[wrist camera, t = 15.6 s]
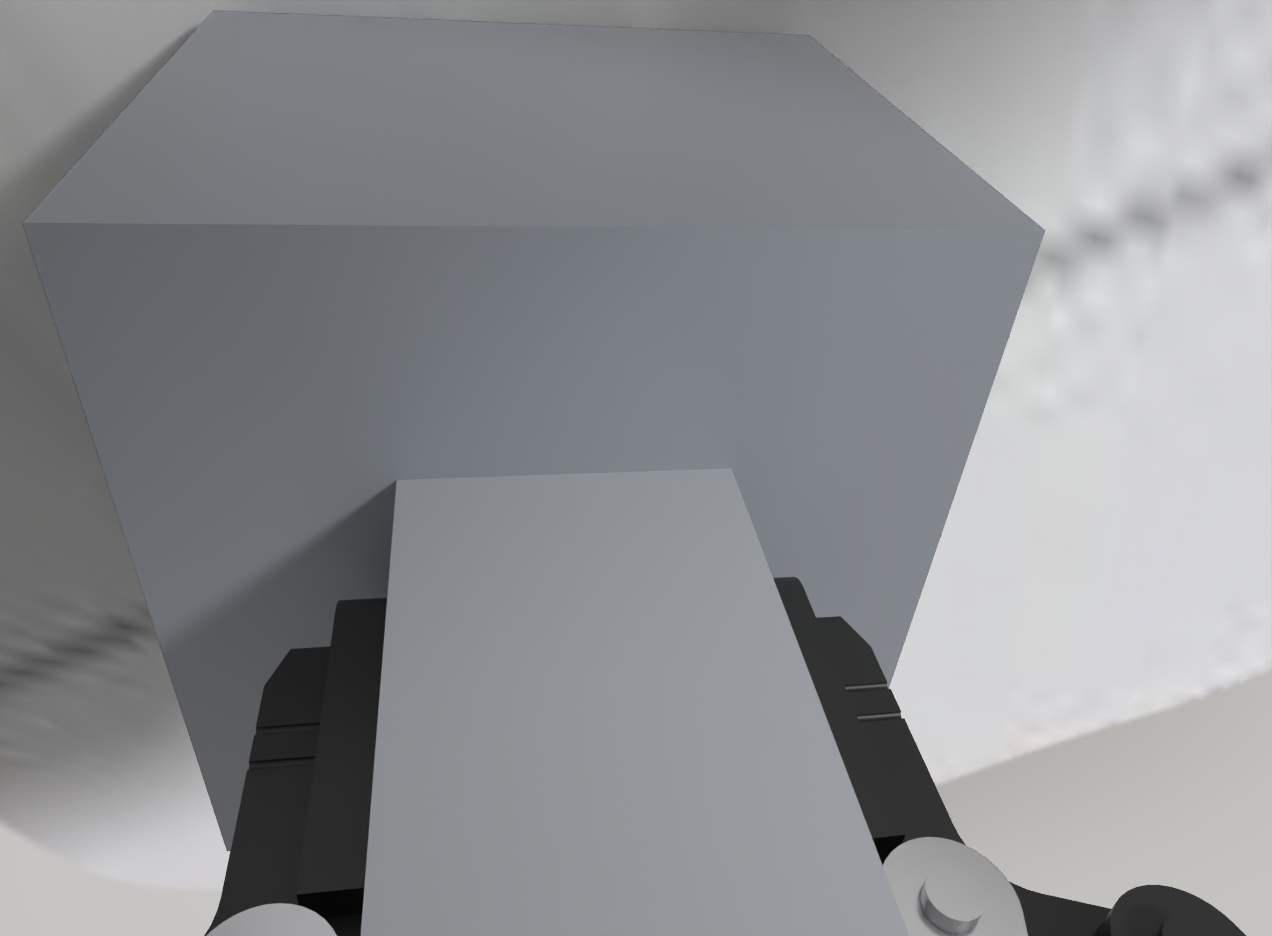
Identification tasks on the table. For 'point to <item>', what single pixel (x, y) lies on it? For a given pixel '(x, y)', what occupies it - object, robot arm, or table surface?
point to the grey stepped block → (538, 435)
